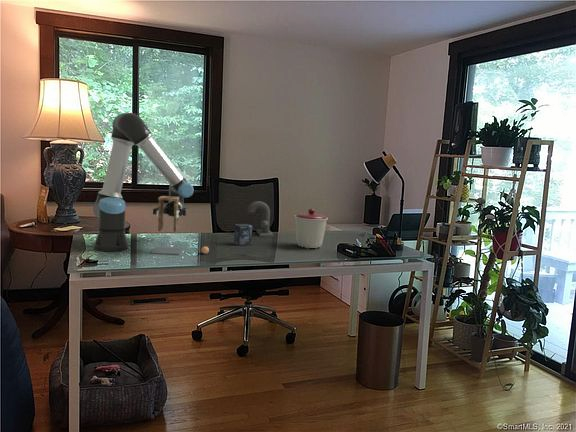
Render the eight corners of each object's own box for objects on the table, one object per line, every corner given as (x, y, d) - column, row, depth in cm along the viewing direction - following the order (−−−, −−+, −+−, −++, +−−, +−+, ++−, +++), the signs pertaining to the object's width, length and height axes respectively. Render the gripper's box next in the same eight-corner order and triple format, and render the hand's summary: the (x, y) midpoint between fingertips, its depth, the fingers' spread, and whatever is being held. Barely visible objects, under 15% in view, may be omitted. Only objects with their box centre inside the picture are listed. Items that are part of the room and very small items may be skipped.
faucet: (244, 231, 306) (246, 198, 303) (269, 232, 309) (271, 200, 306) (247, 236, 288) (249, 202, 286) (274, 237, 291) (276, 203, 288)
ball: (201, 254, 235) (201, 247, 234) (201, 252, 238) (201, 245, 238) (208, 254, 235) (208, 247, 235) (208, 253, 238) (209, 245, 238)
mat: (150, 253, 229) (150, 252, 228) (155, 248, 241) (155, 246, 241) (179, 255, 230) (179, 253, 230) (182, 249, 243) (182, 248, 243)
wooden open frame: (157, 231, 230) (158, 197, 228) (160, 228, 238) (161, 195, 236) (176, 231, 231) (177, 198, 229) (178, 228, 239) (179, 196, 237)
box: (238, 245, 261) (239, 225, 259) (233, 243, 265) (234, 224, 264) (251, 245, 265) (252, 225, 263) (246, 242, 270) (247, 223, 268)
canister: (316, 243, 281) (319, 206, 279) (331, 250, 265) (334, 211, 262) (287, 243, 274) (289, 206, 272) (300, 250, 258) (303, 210, 255)
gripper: (194, 216, 253) (189, 223, 230) (152, 214, 250) (143, 221, 228) (194, 201, 252) (190, 207, 229) (152, 199, 249) (144, 205, 227)
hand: (167, 214), depth 229 cm, fingers closed on wooden open frame, 8 cm apart
